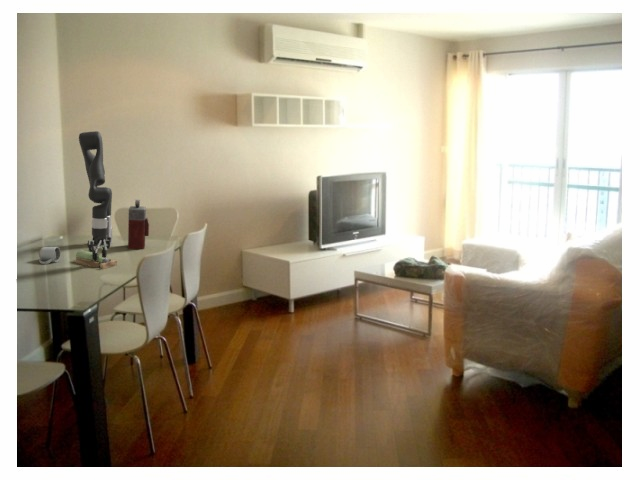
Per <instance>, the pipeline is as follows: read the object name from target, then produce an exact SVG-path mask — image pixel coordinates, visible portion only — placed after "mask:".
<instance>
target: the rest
mask: <svg viewBox="0 0 640 480" xmlns="http://www.w3.org/2000/svg"><path fill="white" fill-rule="evenodd" d="M101 257H102V256H101ZM102 258H104V257H102ZM108 259H109V262H106V263H99V262H95V261H90V260H86V259H82V258H76V257H75V264H78V263H79V265H83V266H87V265H88V266H87V267H91V266H94V267H93V268H95V267H98V268H99V267H100V268H101V269H100V268H99V269H100V270H105V268H106V269H110V268H113V267H115V266H116V267H117V266H118V260H116V259H114V260H112V259H111V258H108Z"/></svg>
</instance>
